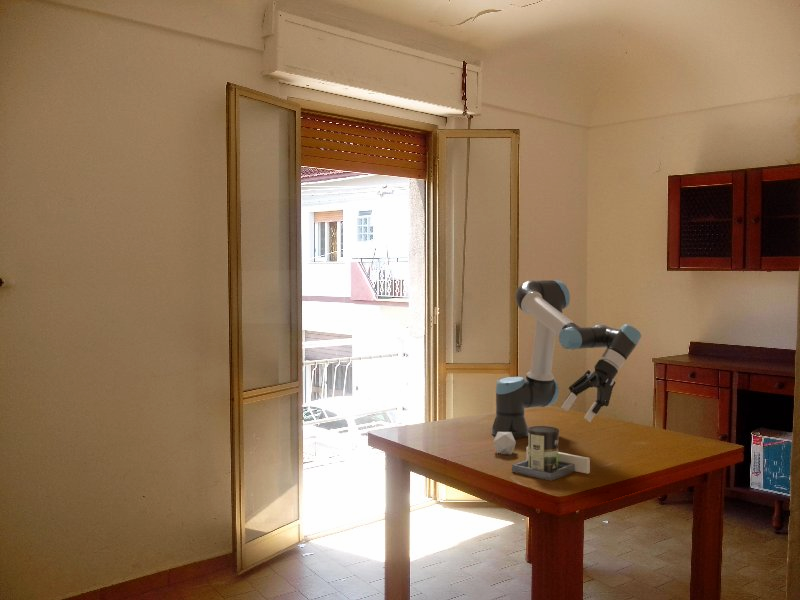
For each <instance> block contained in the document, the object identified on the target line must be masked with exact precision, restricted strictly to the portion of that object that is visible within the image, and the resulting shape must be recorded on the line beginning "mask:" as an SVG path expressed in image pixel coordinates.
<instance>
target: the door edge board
mask: <svg viewBox="0 0 800 600" xmlns="http://www.w3.org/2000/svg"><path fill="white" fill-rule="evenodd" d="M525 449H526V450H525V455H526V456H525V457H526V458H525V459H526V460H528V446H526V447H525ZM558 461H561V462H566V463H571V464H575V471H574V472H578V473H583V474H590V472H591V468H590V467H591V465H590V463H591V462H590V461H591V458H590V457H587V456H581V455H577V454H576V455H575V454H570V453H566V452H560V451H558Z"/></svg>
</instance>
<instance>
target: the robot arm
mask: <svg viewBox="0 0 800 600" xmlns="http://www.w3.org/2000/svg"><path fill="white" fill-rule="evenodd" d="M514 295H515V296H514V299H515V303H516V305H517V307H518V308H519V309H520V310H521V311H522V312H523V313H525V314H527V315H532V316H533V317H534V318H535V326H534V327H535V328H534V337H533V347H532V353H531V354H532V355H531V363H530V364H531V366H530V369H529V371H528V372H526V377H522V376H509V377H507V376H506V377H504V378H501V379H499V380H497V382H496V387H495V417H494V421H493V424H492V427H491V434H493V436H494V437H496V435H497V432H512V435H513V437H514V439H522V438H526V437H528V428H529V427H528V423H527V420H526V417H525V409H529V408H545V407H549V406H552V405H554V404H555V403H556V401H557V400H558V398H559V395H560V394H559V392H560V390H559V387H558V385H559V384H558V382H557V380H556V379H555V376H554V375H553V373H552V371H553V369H552V368H553V361H554V355H555V354H554V353H555V344H556V337H558V341H559V343H560V346H561V347H562V348H563V349H565V350H577V349H579V350H582V349H583V350H584V349H601V348H604V349H605V348H606V349H605V350H604V352H603V353H602V355H601V356H600V359H598V361H597V362H596V364H595V365H594V372H591V371H590V370H588V369H587V371H586V372H585V373H584V374H583V375H582V376H581V377H579V378H578V379H577V380H575V382H573V383H572V384H571V385H569V387H568V390H569V391H570V392H569V394H568V396H567V397H566V398H565V401H564V402H563V404H561V409H563V410H564V411H565V412H569V410H570V408H571V407H572V406H573V404H574V402H576V399H577V398H578V395H580V394H581V393H583V392H585V391H586V390H588V389H590V388H596V391H597V392H596V400H595V401H593V403H592V405H591V406H590V408H589V409H588V410H587V412H586V413H585V414H584V416H583V418H584V420H586V421H587V422H588V423H591V422H592V421H593V418H595V416H596V415H597V414H598V413H599V411H600V410H601V408H603V407H608V406H609V404H610V400H611V397H612V393H613V388H614V387H615V386H616V385H615V384H616V381H615V380H614V378H616V376H617V374H618V373H619V372H618V370H621V368H622V367H623V365H624V364H625V362H626V361H627V359H628V357H630V355H631V353H632V352H633V351H634V349H635V348H636V347H637V346H638V343H639V342H640V340H641V339H642V333H641V332H640V331H639V330H638V329H637V328H635V327H634V326H632V325H630V324H628V323H626V324H622V326H621V327H620V328H619V329H617V328H614V327H610V326H607V325H603V324H596V325H594V326H592V327H591V326H590V327H589V326H588V327H585V326H584V327H580V326H579V325H578V324H576V322H574V321H573V320H571V319H570V318H568V317H567V316H566V315H565V314H563V310H564V309H566V308H568V306H569V305H570V302H571V293H570V289H569V288H568V287H567V285H566V284H565V283H564V282H563V281H561V280H556V279H555V280H553V279H550V280H549V279H547V280H546V279H545V280H527V281H525V282H523V283H521V284H519V286H518V287H517V288H516V291H515V294H514Z"/></svg>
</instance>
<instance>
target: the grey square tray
mask: <svg viewBox="0 0 800 600" xmlns="http://www.w3.org/2000/svg"><path fill="white" fill-rule="evenodd" d="M513 472H516V473H515V474H518V473H520V474H519V475H522V474H523V476H526V475H528V476H527V477H531V476H532V478H535V477H536V479H540V480H544V479H545V480H544V481H548V480H549V482H552V481H554V480H557V479H560V478H562V477H564V476H567V475H569V474H571V473H574V472H576V471H575V464H571V463H566V462H561V461H558V469H557V470H554V471H552V472H547V471H542V470H538V469H533V468H528V460H525V459H524V460H523V461H519V462H517V463H513V464H512V465H511V473H513Z"/></svg>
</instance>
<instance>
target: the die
mask: <svg viewBox="0 0 800 600" xmlns="http://www.w3.org/2000/svg"><path fill="white" fill-rule="evenodd" d="M515 439H516V438H514V437H513V435H512V432H497V435H496V436H494V440H493V442H492V443H493V445H494V449H495V451H496V454H498V453H501V454H500V455H512V453H514V452H513V451H514V449H515V446H516V444H517V442H516V440H515Z"/></svg>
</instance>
